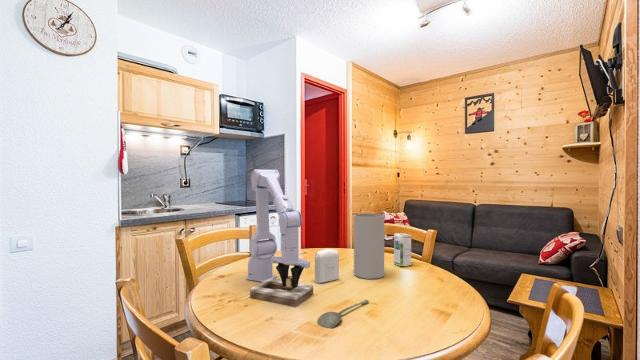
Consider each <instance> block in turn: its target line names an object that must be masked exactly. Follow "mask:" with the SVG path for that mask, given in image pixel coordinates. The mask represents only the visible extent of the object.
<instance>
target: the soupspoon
mask: <svg viewBox="0 0 640 360" xmlns="http://www.w3.org/2000/svg"><path fill="white" fill-rule="evenodd" d="M369 303H370V301H369V300H368V299H364V300H363V301H360V302H358V303H355V304H353V305H351V306H348V307H345V308H344V309H342V310H340V311H338V312H336V311H327V312H324V313H323V314H321V315H320V316H318V318H317V321H316V324H317V325H318V326H319V327H321V328H325V329H329V330H330V329H333V328H335V327H336V326H337V325H338V324H339V323H340V321H341V320H342V317H343V315H342V314H343V313H345V312H347V311H348V310H351V309H352V308H355V307H358V306H360V305H369Z"/></svg>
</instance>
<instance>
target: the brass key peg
mask: <svg viewBox="0 0 640 360" xmlns="http://www.w3.org/2000/svg"><path fill="white" fill-rule="evenodd" d="M285 284H286V290H287V291H291V290H293V289H294V288H293V286H292V275H288V276H287V277H285Z"/></svg>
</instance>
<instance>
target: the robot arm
mask: <svg viewBox="0 0 640 360" xmlns="http://www.w3.org/2000/svg"><path fill="white" fill-rule="evenodd" d="M251 173H252V174H251V176H250V177H251V178H250V179H251V180H250V181H251V182H250V183H251V190H252V191H253V192H255V212H256V213H255V214H256V215H255V216H256V233H254V234H253V235H252V236H251V237H250V242H249V253H250V255H251V256H250V257H249V258H248V262H247V277H246V280H250V281H253V282H254V281H255V282H260V283H262V282H264V281H266V280H268V279H270V278H272V279H276V278H277V277H278V275H279V276H280V280H282V284H283V286H284V287H285V286H286V284H285V277H287V276H289V269H290V274H291V276H292V286H293V288H296V287H298V283H300V282H299V281H300V279H301V275H302V273H303V271H304V269H310V268H311V261H310V260H309V261H308V260H305V259H301V258H299V257H300V255H299V247H300V246H299V240H300V239H299V236H300V235H299V233H300V232H299V230H300V229H299V228H301V226H302V224H303V217H302V213H301V212H300V211H299V210H297V209H296V208H294V206H293V204H292V203H291V200H290V198H289V197H288V196H287V195H285V194H284V193H283V190H282V187H281V184H280V179H281V178H280V177H281V176H280V172H279V170H278V169H257V168H255V169H254V170H252V172H251ZM269 193H270V194H271V196H272V198H273V199H274V200H273V207H274V209H275V210H276V213H277V216H278V226H279V232H280V234H281V256H275V255H276V253H277V251H278V245H277V241H276V235H275V234H273V233H272V232H270V214H269V213H270V212H269V210H270V209H269V208H270V207H269ZM273 264H277V265H276V266H275V268H276V269H275V270H276V271H277V272H278V275H276V274H273V272H274V271H273V269H274V268H273V267H274V266H273ZM290 266H291V268H290Z"/></svg>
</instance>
